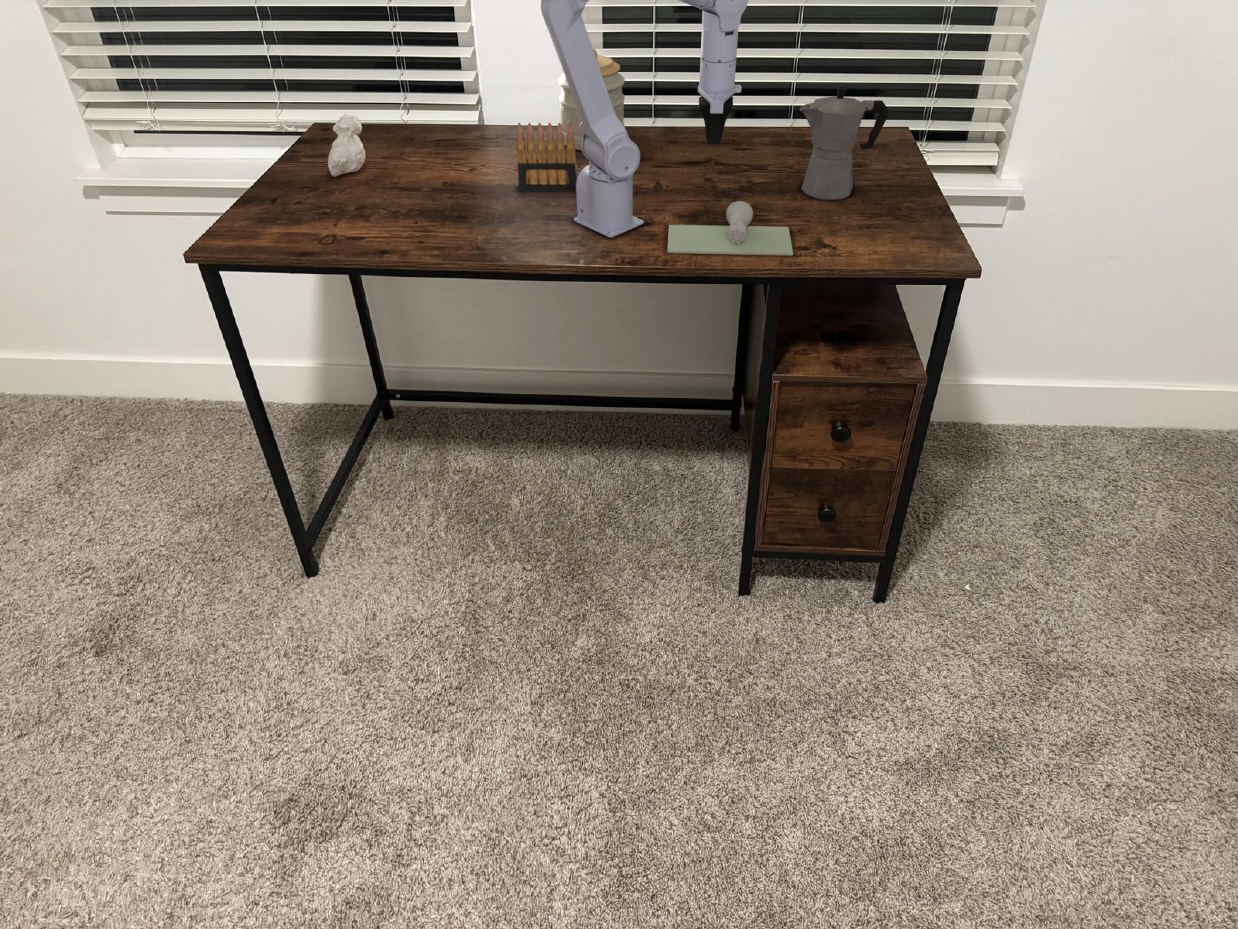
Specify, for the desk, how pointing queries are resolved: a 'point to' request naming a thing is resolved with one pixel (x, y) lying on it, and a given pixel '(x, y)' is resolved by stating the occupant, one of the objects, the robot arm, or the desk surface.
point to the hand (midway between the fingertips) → (713, 142)
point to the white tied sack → (346, 147)
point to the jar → (570, 108)
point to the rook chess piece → (738, 221)
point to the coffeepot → (837, 142)
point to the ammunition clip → (546, 160)
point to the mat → (717, 242)
